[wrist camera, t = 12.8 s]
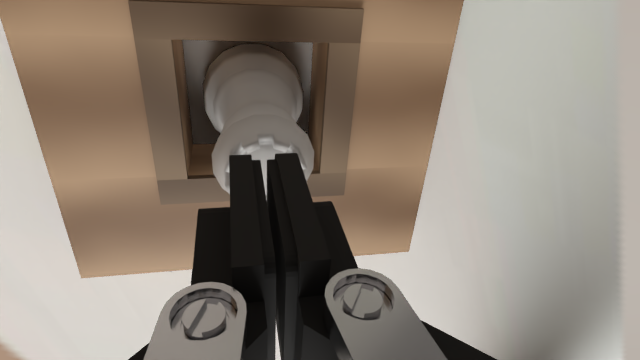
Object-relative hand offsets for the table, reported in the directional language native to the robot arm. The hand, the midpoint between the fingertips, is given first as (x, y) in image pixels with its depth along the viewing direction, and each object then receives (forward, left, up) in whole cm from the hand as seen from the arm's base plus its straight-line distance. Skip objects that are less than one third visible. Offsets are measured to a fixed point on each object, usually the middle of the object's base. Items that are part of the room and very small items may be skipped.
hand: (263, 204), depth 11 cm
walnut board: (0, 0, -10) cm, 10 cm away
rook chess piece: (0, 0, -10) cm, 10 cm away
